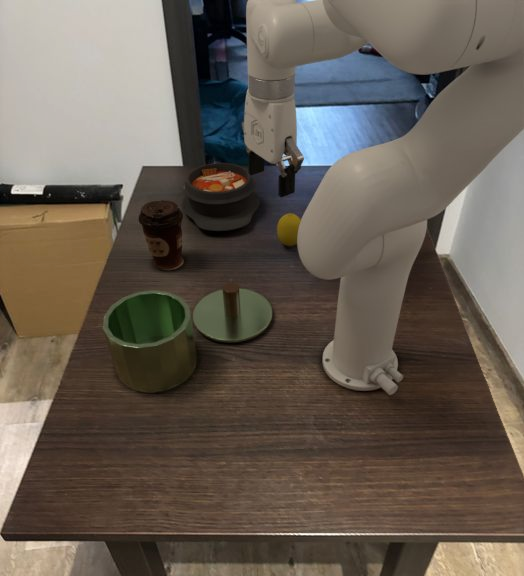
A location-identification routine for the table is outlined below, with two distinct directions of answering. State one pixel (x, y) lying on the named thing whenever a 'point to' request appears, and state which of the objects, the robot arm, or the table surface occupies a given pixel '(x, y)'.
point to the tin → (151, 340)
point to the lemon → (288, 229)
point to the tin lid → (232, 314)
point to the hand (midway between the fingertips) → (271, 183)
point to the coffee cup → (163, 233)
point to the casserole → (220, 196)
